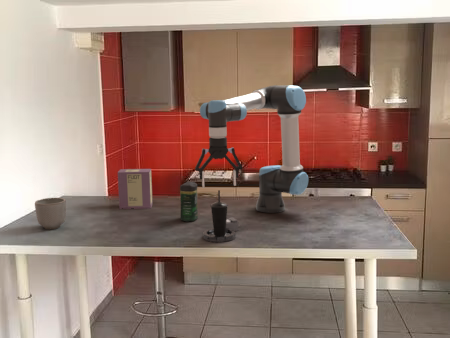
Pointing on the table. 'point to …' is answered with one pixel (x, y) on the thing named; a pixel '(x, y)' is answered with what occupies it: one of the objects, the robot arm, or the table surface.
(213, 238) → the plate
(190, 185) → the coffee jar
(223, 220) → the drinking cup
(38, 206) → the planter
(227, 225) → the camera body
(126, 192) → the box
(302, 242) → the table surface
